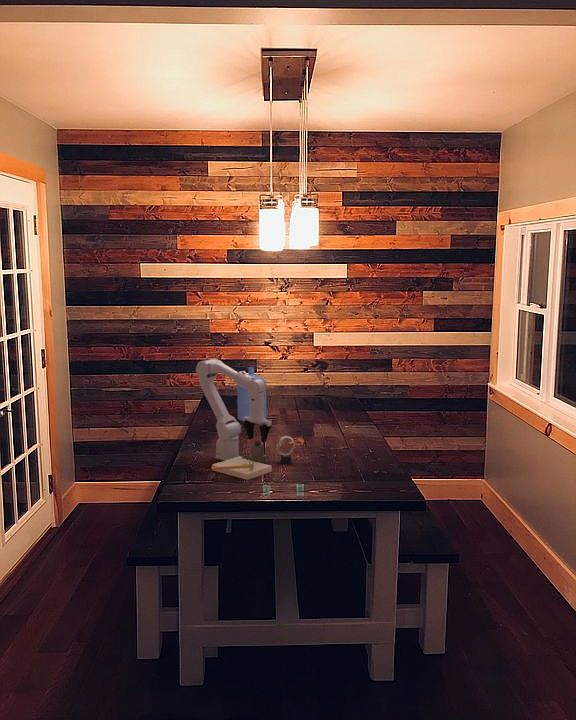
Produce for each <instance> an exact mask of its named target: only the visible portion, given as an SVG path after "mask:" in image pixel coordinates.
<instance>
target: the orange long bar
mask: <svg viewBox="0 0 576 720" xmlns="http://www.w3.org/2000/svg"><path fill="white" fill-rule="evenodd" d="M240 468H249V469H250V470H253V469H254V463H249V465H236V466H221V467H212V466H211V471H213V470H224V469H240Z"/></svg>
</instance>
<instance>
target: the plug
mask: <svg viewBox="0 0 576 720" xmlns="http://www.w3.org/2000/svg"><path fill="white" fill-rule="evenodd" d="M250 450H251V454H250V455H247V456H246V457H247V459H248V460H251V461H254V462H258V463H262V464H265V459H267V458H269V456H268V455H267V454H265V453H264V452H265V450H264V444H261V441H260V440H255V441H254V444H251V449H250Z"/></svg>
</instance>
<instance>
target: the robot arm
mask: <svg viewBox="0 0 576 720" xmlns="http://www.w3.org/2000/svg"><path fill="white" fill-rule="evenodd" d="M195 372H196V374H197V376H198V383H199V386H200V387H201V389H202V391H203V394H204V396H205V397H206V400H207V402H208V404H209V406H210V408H211V409H212V412H213V414H214V416H215V418H216V420H217V421H216V424H215V427H216V430H217V435H218V437H219V438H217V441H216V442H215V443H216V444H215V447H216V448H215V449H216V450H215V451H216V455H215V457H214V459H217V460H220V461H226V460H229V459H232V458H235V457H238V458H242V459H244V457H243V456H241V455H239V454H240V453H239V437H240V434H241V432H242V426H243V427H244V429H245V432H246V436H247V438H248V440H252V439H254V430H255V425H256V424H258V425H260V426H258V428H259V432H260V437H261V438H260V440H261V441H260V442H261V443H266V442H267V441H268V436H269V433H270V430H271V429H272V426H273V425H272V420H269V419H267V418H266V419H265V417H264V395H263V392H264V391H265V389H266V390H267V382H266V383H265V382H264V381H263V380H262V379H263V378H262V379H260V378H261V377H260V378H259V379H255V377H252V376H250V375H248V374H247V371H244V370H243V371H236V370H235V369H234V368H232V367H230V366H228V365H227V364H225V363H223V361H222V360H219V359H217V358H215V357H214V358H211V359H207V360H200V361H199V362H198V363H197V364H196V367H195ZM218 374H221V375H223V376H226V377H228V378H229V379H232V380H233V383H235V385H236V386H237V385H239V386H241V387H243V388H245V389H247V391H248V393H249V397H250V417H249V416H245V417H243V421H242V422H243V423H242V426H241V424H240V422H238V421H237V420H236V417H234V416H232V415H230V413H229V412H228V410H227V407H226V405H225V403H224V401H223V400H222V397H221V396H220V393H219V390H218V389H217V388H216V386H215V383H214V381H215V378H216V377H217V375H218Z"/></svg>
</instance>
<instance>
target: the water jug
mask: <svg viewBox="0 0 576 720" xmlns="http://www.w3.org/2000/svg"><path fill="white" fill-rule="evenodd" d="M247 369H248V370H247V371H248V375H250V376H252V377H255V379H259V378H260V379H262V380H263V381H264V382H265V383H266V384H267V380H266V379H264V378H262V377H260V376H258V375H255V367H254V366H249V367H248V368H247ZM236 391H237V392H236V393H237V398H236V400H237V401H236V403H237V420H239V421H240V422H244V421H243V417H245V416H249V417H250V397H249V393H248V391H247V389H245V388H243V387H241V386H239V385H237V384H236ZM263 395H264V417H265V419H267V418H268V414H267V403H268V402H267V388H266V389H265V391H264V392H263Z"/></svg>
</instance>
